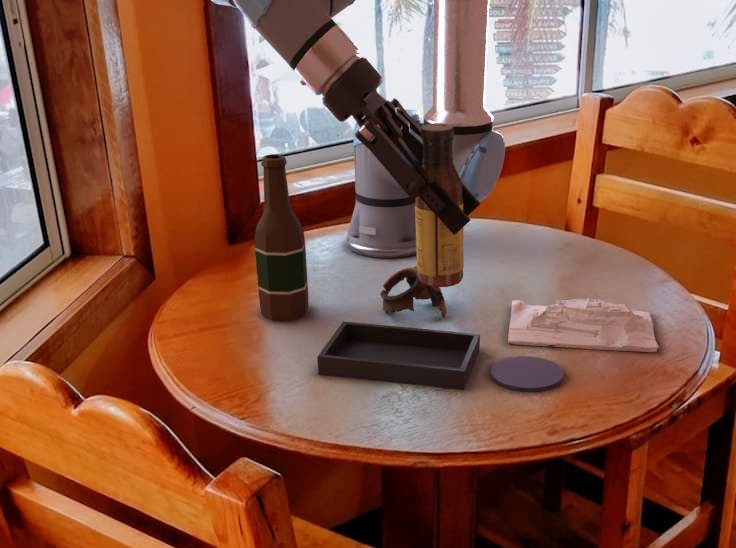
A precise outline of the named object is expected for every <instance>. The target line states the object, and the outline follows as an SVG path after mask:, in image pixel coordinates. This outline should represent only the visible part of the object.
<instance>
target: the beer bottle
mask: <svg viewBox="0 0 736 548" xmlns="http://www.w3.org/2000/svg"><path fill="white" fill-rule="evenodd" d="M287 163H288V161H287V159H286V157H285V156H284V155H281V154H278V153H277V154H276V153H275V154H274V153H273V154H272V153H270V154H266V155H264V156H263V157H262V158H261V163H260V166H262V167H263V200H264V201H263V210H262V211H263V212H262V215H261V217H260V219H259V220H258V223H257V225H256V228H255V232H254V254H255V267H256V278H257V289H258V299H259V300H258V301H259V307H260V314H261V316H262V317H264V318H266V319H267V320H270V321H272V322H293V321H296V320H299V319H302V318H305V317H306V315H307V312H308V310H309V283H308V268H307V251H306V239H305V231H304V228H303V225H302V223H301V221H300V219H299V218H298V216H297V215H296V214H295V213H294V212H293V209H292V205H291V201H290V193H289V186H288V179H287V170H286V166H287Z"/></svg>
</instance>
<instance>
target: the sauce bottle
mask: <svg viewBox="0 0 736 548" xmlns="http://www.w3.org/2000/svg"><path fill="white" fill-rule="evenodd" d="M421 138H422V141H423V165H422V168H423V169H424V171H425V172H426V173H427V175H428V176H429V178H430V179H431V181H432V183H433V182H434V181H435V180H436V181H437V182H438V183H439V184H440V186H441V187H442V188H443V189H444V190H445V191H446V192H447V193H448V195H449V196H450V197H451V198H452V199H453V200H454V201H455V202H456V204H457V205H458V206H459V207H460V208H461V209H462V210H463V198H462V182H461V179H460V177H459V175H458V173H457V171H456V168H455V166H454V164H453V157H452V152H453V151H452V140H453V138H454V130H453V126H452V125H449V124H444V123H434V124H427V125H424V126H422V127H421ZM432 183H431V184H432ZM431 184H430V185H431ZM415 201H416V203H415V221H416V249H417V254H416V266H417V271H418V275H419V279H420V281H421V282H422V283H423V284H424V285H429V286H434V287H439V288H448V287H453V286H456V285H458V284H460V283H461V282H462V280H463V278H464V268H465V261H464V260H465V253H464V251H465V248H464V243H465V242H464V227H463V228H462V229H461V230H459V231H458V232H457V233H456V234H455V235H454V234H453V233H452V232H451V231H450V230H449V229H448V228H447V227H446V226H445V224H444V223H443V222H442V221H441V220H440V219H439V218H438V217H437V216H436V214H435V213H434V212H433V211H432V210H431V209H430V208H429V207H428V206H427V204H426V203H425V202H424V201H423V200H422V199H421V198H420V197H419V196H418V197H417V198H416V199H415Z"/></svg>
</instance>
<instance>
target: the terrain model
mask: <svg viewBox="0 0 736 548" xmlns="http://www.w3.org/2000/svg"><path fill="white" fill-rule="evenodd" d="M510 308H511V311H510V313H511V314H510V319H509V323H508V324H509V325H508V326H509V327H508V333H507V334H508V335H507V337H508V341H507V343H508V344H511V345H518V346H519V345H521V346H535V347H537V346H538V347H552V348H570V349H571V348H572V349H586V350H587V349H588V350H604V351H605V350H606V351H621V352H642V353H647V352H648V353H657V351H658V349H659V348H661V347H660V346H659V344H658V342H657V340H656V336H655V331H654V328H655V327H654V323H653V320H654V319H653V318H652V317H651V313H650V312H649V311H641V310H632V309H631V308H629V307H627V305H626V304H625V303H613V302H612V301H606V300H602V299H601V298H598V299H594V298H590V297H589V298H586V297H585V298H572V299H568V300H566V299H555V303H553V304H552V303H551V305H550V304H547V305H538V304H537V305H530V304H527V303H526V302H525V301H522V300H519V299H517V300H516V299H514V300H512V302H511V305H510Z"/></svg>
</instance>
